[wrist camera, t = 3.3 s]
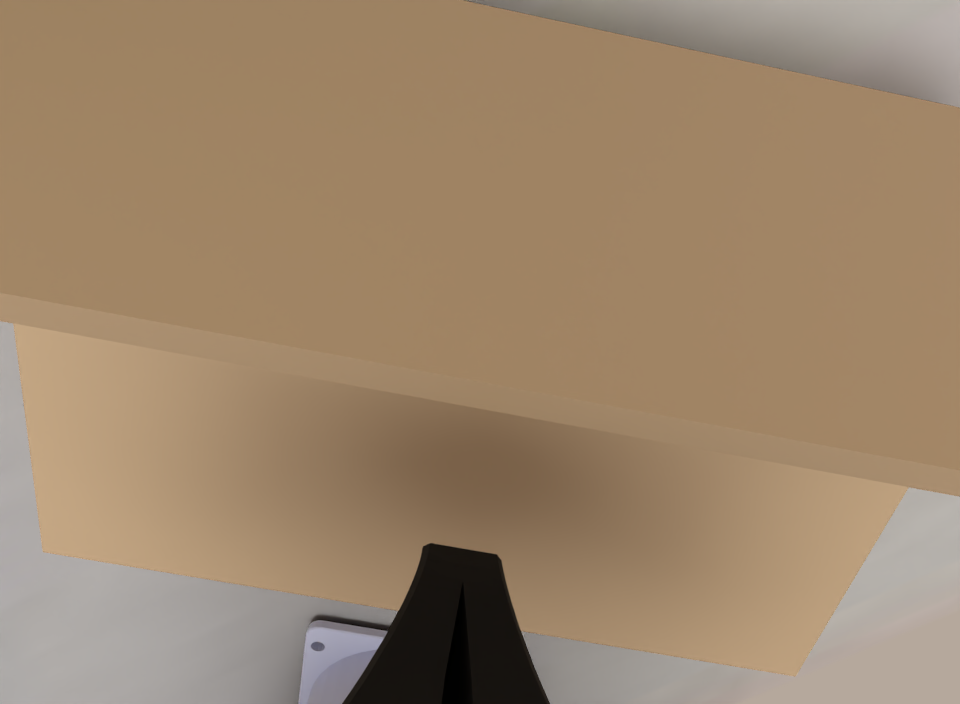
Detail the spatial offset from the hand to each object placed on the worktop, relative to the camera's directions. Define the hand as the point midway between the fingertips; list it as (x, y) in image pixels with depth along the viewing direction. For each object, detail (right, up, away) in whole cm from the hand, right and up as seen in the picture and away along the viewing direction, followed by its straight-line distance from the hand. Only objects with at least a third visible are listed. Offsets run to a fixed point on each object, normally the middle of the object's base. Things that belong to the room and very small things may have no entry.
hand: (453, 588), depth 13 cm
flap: (+1, +6, -2) cm, 7 cm away
